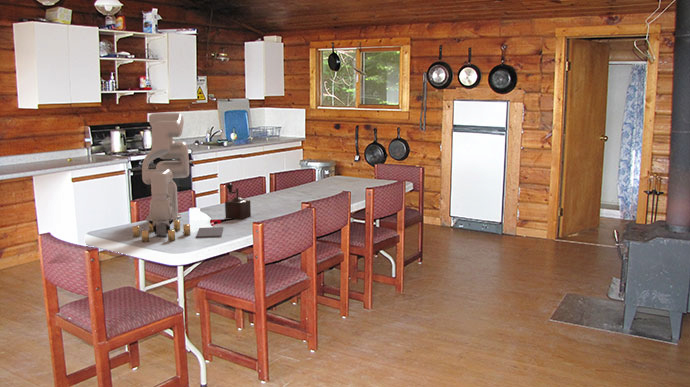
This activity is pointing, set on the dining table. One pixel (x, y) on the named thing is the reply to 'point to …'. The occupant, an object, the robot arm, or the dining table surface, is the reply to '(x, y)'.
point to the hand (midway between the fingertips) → (161, 232)
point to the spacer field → (170, 232)
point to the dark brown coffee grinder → (237, 206)
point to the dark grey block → (161, 229)
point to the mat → (209, 232)
